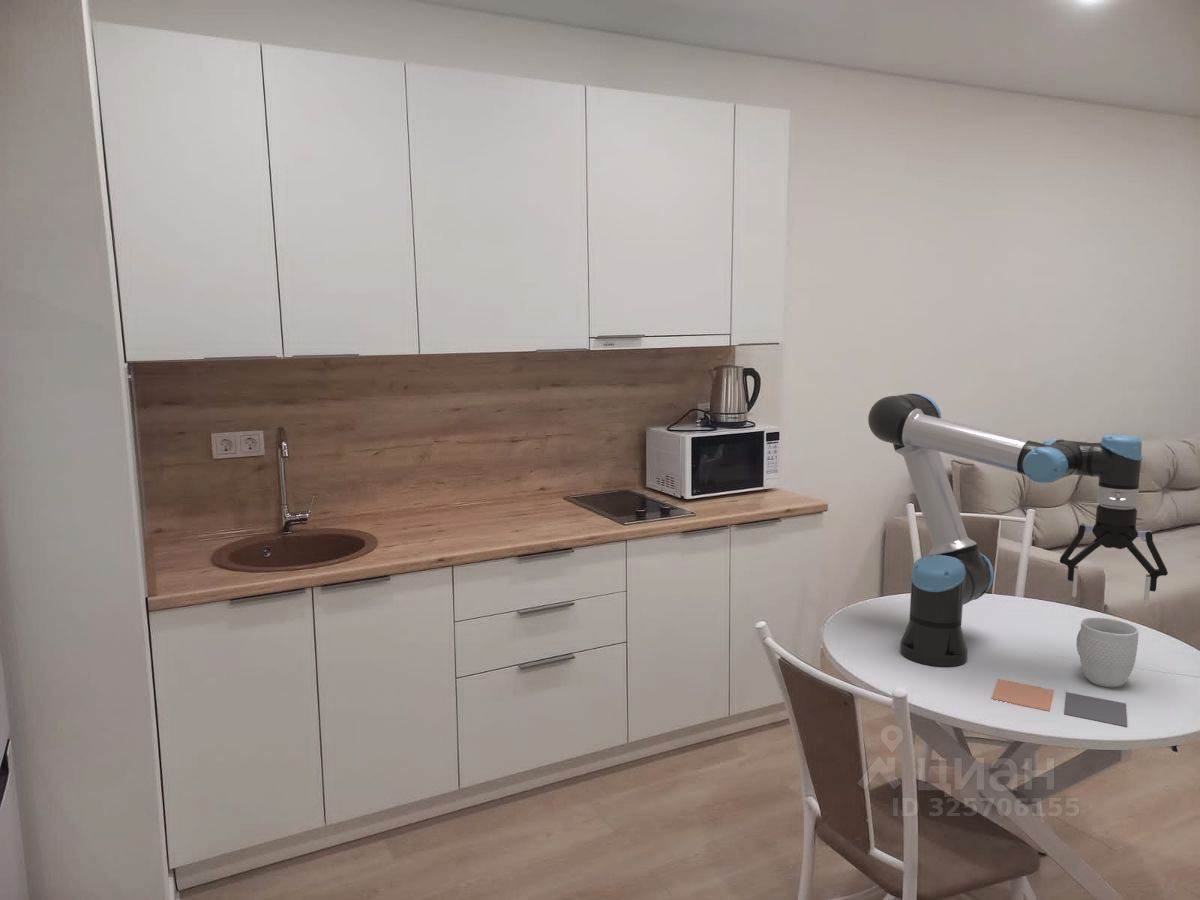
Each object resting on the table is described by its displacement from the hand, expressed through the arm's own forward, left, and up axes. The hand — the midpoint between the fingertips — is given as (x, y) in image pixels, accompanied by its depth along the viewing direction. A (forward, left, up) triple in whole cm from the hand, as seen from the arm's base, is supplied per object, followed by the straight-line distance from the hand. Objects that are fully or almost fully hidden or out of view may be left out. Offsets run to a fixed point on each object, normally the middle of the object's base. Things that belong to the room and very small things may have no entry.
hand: (1109, 600), depth 186 cm
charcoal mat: (-1, -18, -19) cm, 26 cm away
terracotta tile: (-15, -18, -19) cm, 30 cm away
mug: (0, 0, -19) cm, 19 cm away
